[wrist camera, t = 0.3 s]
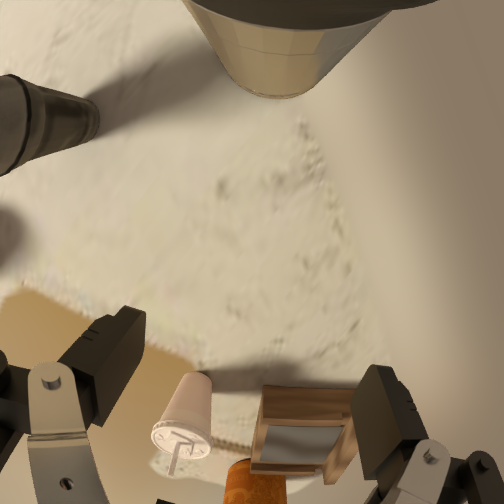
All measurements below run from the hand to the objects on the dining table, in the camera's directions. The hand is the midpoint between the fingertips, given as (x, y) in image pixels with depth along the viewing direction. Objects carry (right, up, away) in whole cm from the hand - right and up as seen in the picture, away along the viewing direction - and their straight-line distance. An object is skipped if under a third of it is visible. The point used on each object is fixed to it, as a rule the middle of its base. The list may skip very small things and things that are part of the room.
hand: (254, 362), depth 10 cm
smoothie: (-7, -12, +25) cm, 29 cm away
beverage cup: (-17, +16, +15) cm, 28 cm away
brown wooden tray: (+7, -19, +27) cm, 34 cm away
